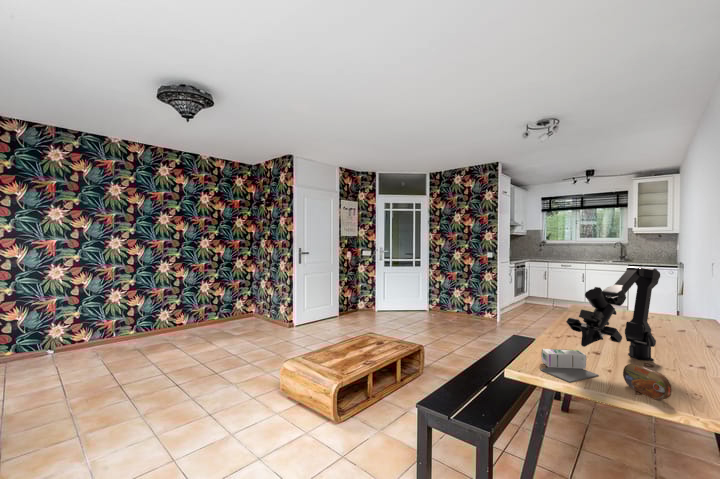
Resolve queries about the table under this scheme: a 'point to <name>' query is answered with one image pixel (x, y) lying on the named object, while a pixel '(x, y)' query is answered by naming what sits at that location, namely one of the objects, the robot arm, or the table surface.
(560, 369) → the mat
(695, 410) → the table surface
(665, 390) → the tin
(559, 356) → the syrup box
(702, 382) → the table surface
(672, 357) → the table surface
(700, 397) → the table surface
